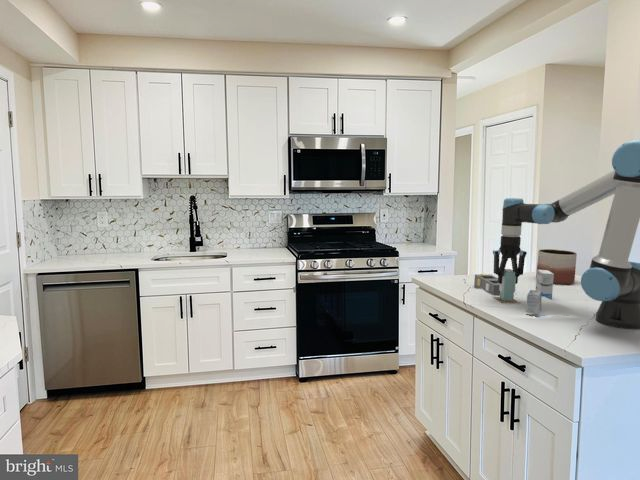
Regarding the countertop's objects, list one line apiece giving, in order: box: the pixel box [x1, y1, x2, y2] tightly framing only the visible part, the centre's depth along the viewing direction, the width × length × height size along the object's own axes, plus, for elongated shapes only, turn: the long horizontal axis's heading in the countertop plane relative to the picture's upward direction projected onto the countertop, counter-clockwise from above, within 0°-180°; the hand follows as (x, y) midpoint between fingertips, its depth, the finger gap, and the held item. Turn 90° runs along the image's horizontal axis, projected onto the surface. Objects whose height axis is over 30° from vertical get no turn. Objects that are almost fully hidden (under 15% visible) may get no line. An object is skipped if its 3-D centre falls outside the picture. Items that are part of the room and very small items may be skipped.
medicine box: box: [525, 289, 543, 318], centre depth 170 cm, size 8×4×9 cm, turn 148°
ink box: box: [535, 269, 554, 300], centre depth 197 cm, size 8×5×12 cm, turn 168°
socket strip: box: [473, 273, 500, 296], centre depth 204 cm, size 22×8×6 cm, turn 2°
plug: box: [499, 268, 516, 301], centre depth 185 cm, size 4×4×13 cm
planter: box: [535, 248, 577, 285], centre depth 230 cm, size 18×18×16 cm
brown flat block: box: [492, 296, 521, 304], centre depth 186 cm, size 10×8×2 cm
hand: (506, 291), depth 185 cm, fingers closed on plug, 4 cm apart
